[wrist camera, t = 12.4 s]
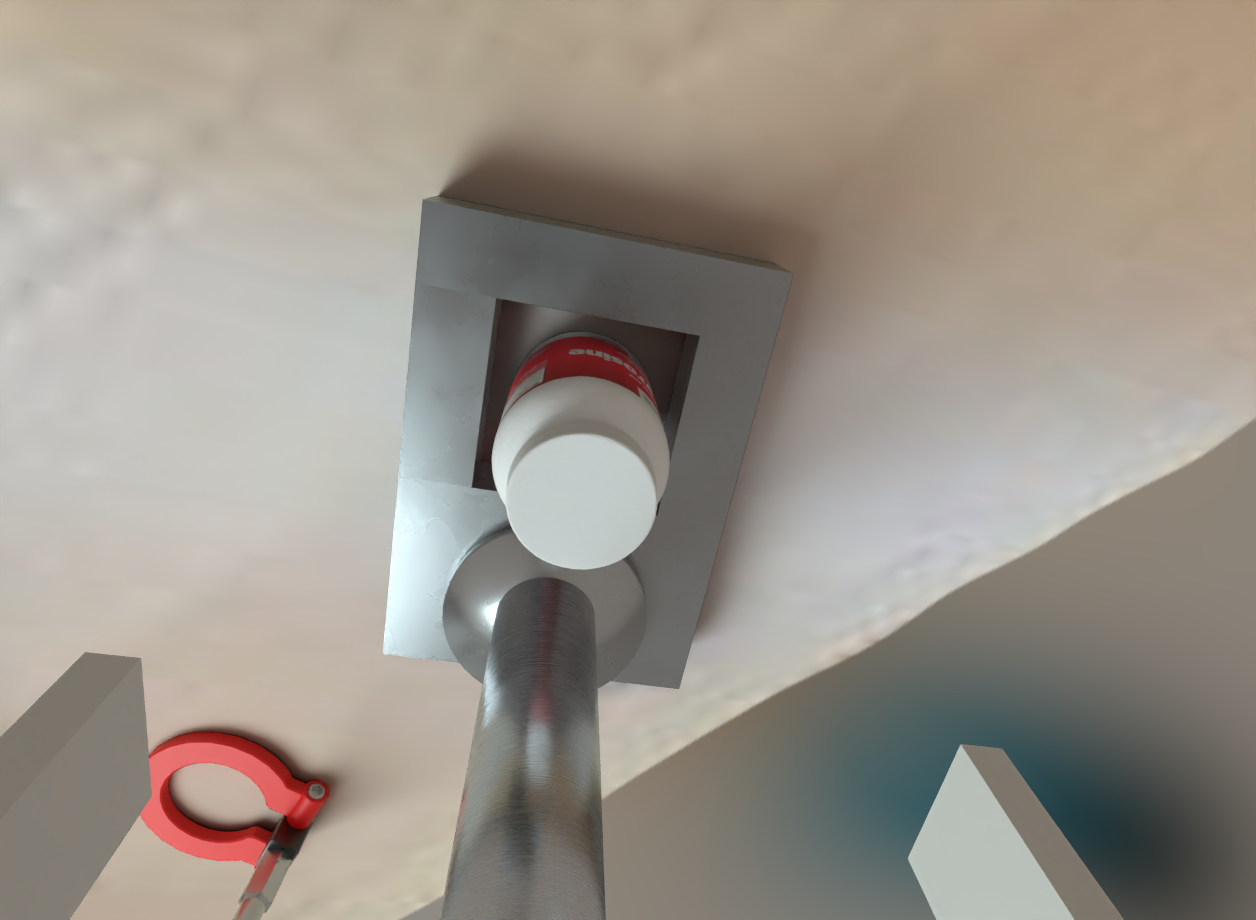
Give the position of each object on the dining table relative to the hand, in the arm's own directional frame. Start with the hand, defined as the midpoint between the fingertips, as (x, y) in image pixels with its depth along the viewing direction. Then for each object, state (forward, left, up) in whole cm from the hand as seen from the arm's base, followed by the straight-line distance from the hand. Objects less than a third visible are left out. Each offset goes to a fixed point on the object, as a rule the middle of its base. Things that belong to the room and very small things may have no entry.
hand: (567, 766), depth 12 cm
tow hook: (+26, -15, -22) cm, 37 cm away
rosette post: (+4, 0, -22) cm, 22 cm away
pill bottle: (+1, 0, -22) cm, 22 cm away
